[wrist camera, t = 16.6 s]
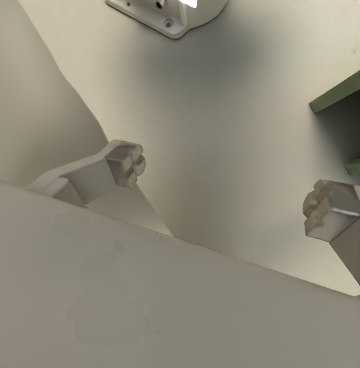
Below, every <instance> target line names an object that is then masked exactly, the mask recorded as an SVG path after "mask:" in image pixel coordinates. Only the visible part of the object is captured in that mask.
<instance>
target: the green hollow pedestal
mask: <svg viewBox="0 0 360 368" xmlns="http://www.w3.org/2000/svg"><path fill="white" fill-rule="evenodd" d="M359 89H360V70H359V71H358V72H356V73H355V74H353V75H352V76H350V77H349V78H347V79H346V80H344V81H342V82H341V83H339V84H338V85H336V86H335V87H333V88H332V89H330V90H329V91H327V92H326V93H324V94H323V95H321V96H319V97H318V98H316V99H315V100H313V101H312V102H310V103H309V104H310V106H311V108H312V109H313V111H314V113H317V112H319V111H320V110H322V109H324V108H326V107H328V106H330V105H332V104H333V103H335V102H337V101H339V100H341V99H343V98H345V97H346V96H348V95H350V94H352V93H354V92H356V91H358V90H359ZM344 166H345V167H346V169H347V171H348V173H349V175H360V157H359V158H357V159H355V160H353V161H351V162H349V163H347V164H345V165H344Z"/></svg>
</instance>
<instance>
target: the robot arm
mask: <svg viewBox="0 0 360 368" xmlns="http://www.w3.org/2000/svg"><path fill="white" fill-rule="evenodd" d="M105 1H106V3H108V4H109V5H111V6H113V7H114V8H116V9H118V10H120V11H122V12H124V13H126V14H127V15H129V16H131V17H133V18H135V19H137V20H138V21H140V22H142V23H144V24H146V25H148V26H149V27H151V28H153V29H155V30H157V31H159V32H161V33H162V34H164V35H166V36H168V37H170V38H172V39H177V38H179V37H181V36H182V35H183V34H185V33H186V32H187V31H188V30H189V29H191V28H194V27H197V26H200V25H203V24H205V23H207V22H209V21H211V20H212V19H213V18H215V17H216V16H217V15H218V14H219V13H220V12H221V11H222V9H223V8H224V7H225V5H226V3H227V1H228V0H105ZM168 26H170V27H169V28H168ZM142 153H143V148H142V146H141V145H140V144H136V143H131V142H126V141H121V140H112V141H111V142H110V143H109V144H108V145H107V146H106V147H104V148H103V149H102V150H101V151H100V152H99V153H98V154H97V155H95V156H93V155H92V156H89V157H86V158H84V159H81V160H78V161H75V162H72V163H69V164H67V165H63V166H61V167H58V168H55V169H52V170H49V171H46V172H45V173H43V174H42V175H41V176H40V177H38V178H37V179H36V180H34V181H33V182H32V183H30V184H29V185H28V186H27V187H25V188H22V187H18V186H16V185H12V184H9V183H6V182H3V181H0V368H360V295H357V296H351V295H348V294H344V293H341V292H338V291H335V290H332V289H329V288H326V287H323V286H320V285H317V284H314V283H311V282H308V281H305V280H302V279H299V278H296V277H293V276H290V275H287V274H284V273H281V272H277V271H274V270H271V269H268V268H265V267H262V266H259V265H256V264H253V263H250V262H247V261H244V260H241V259H238V258H235V257H232V256H229V255H226V254H223V253H220V252H217V251H213V250H210V249H207V248H204V247H201V246H198V245H195V244H192V243H189V242H186V241H183V240H180V239H177V238H174V237H171V236H168V235H165V234H162V233H158V232H155V231H152V230H149V229H146V228H143V227H140V226H137V225H134V224H131V223H128V222H125V221H122V220H119V219H115V218H113V217H110V216H107V215H104V214H100V213H98V212H94V211H91V210H89V209H88V207H87V206H86V204H87V203H89V202H91V201H92V200H94V199H96V198H98V197H99V196H101V195H103V194H104V193H106V192H108V191H109V190H111V189H113V188H115V187H116V186H117V185H119V186H123V187H128V188H131V187H132V186H133V185H134V184H135V182H136V181H137V176H139V175H141V174H142V173H143V171H144V169H145V165H146V162H145V158H144V157H143V155H142ZM314 190H315V191H312V192H310V193H308V195H307V196H306V198H305V200H304V203H303V214H304V215H305V216H306V217H307V219H306V220H305V222H304V225H305V233H306V236H309V237H313V238H316V239H320V240H323V241H326V242H330V243H329V244H330V245H331V246H332V248H333V249H334V251H335V252H336V253H337V255H338V256H339V257H340V259H341V260H342V262H343V263H344V264H345V266H346V267H347V269H348V270H349V271H350V273H351V274H352V275H353V277H354V278H355V280H356V281H357V282H358V284H359V285H360V186H357V185H351V184H350V185H349V184H344V183H338V182H333V181H328V180H322V179H320V180H318V181H317V182H316V184H315V185H314Z"/></svg>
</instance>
